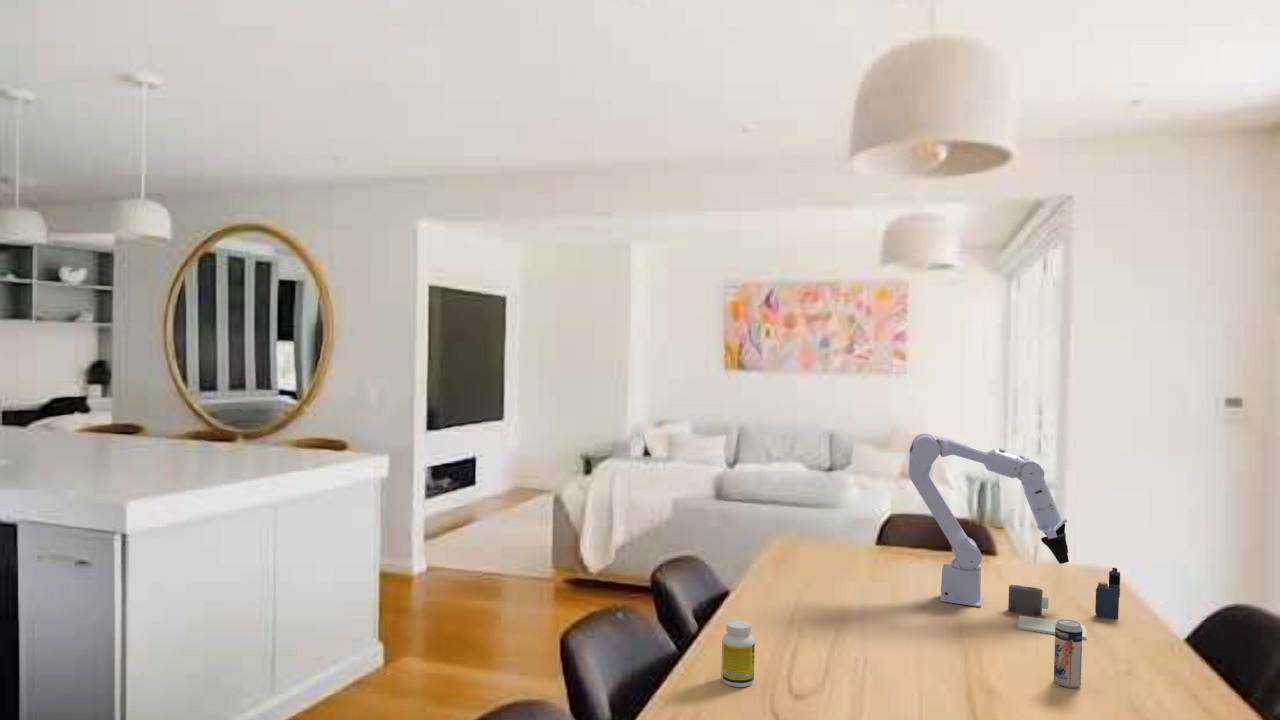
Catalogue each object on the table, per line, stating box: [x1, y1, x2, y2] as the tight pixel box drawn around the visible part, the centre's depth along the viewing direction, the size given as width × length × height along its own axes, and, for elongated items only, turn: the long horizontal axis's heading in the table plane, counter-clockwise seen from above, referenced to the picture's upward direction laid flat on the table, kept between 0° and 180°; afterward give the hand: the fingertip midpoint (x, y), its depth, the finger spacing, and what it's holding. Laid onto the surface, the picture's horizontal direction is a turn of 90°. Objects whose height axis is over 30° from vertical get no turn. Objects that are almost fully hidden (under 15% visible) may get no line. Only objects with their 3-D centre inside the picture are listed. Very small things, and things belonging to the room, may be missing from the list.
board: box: [1017, 615, 1087, 641], centre depth 192 cm, size 14×9×1 cm, turn 63°
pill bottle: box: [720, 619, 756, 688], centre depth 157 cm, size 6×6×11 cm
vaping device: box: [1094, 567, 1121, 619], centre depth 201 cm, size 3×5×12 cm, turn 78°
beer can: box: [1053, 618, 1083, 689], centre depth 159 cm, size 5×5×12 cm
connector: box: [1007, 584, 1049, 617], centre depth 203 cm, size 9×4×6 cm, turn 63°
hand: (1064, 558), depth 205 cm, fingers open, 7 cm apart
